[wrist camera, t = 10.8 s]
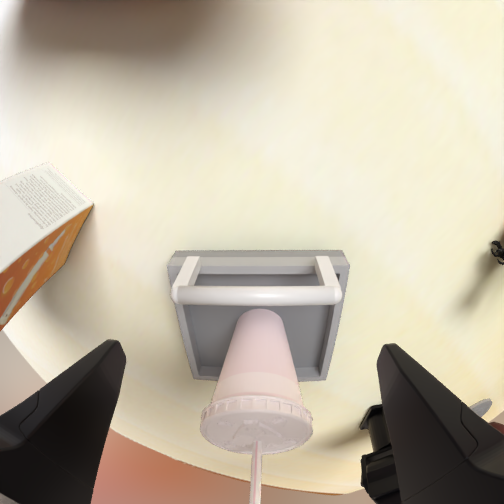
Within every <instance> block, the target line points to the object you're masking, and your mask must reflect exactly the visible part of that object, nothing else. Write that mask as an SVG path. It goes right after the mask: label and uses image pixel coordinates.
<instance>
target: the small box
mask: <svg viewBox="0 0 504 504" xmlns="http://www.w3.org/2000/svg"><path fill="white" fill-rule="evenodd" d="M93 205H94V204H93V202H92V201H91V200H90V199H89V198H88V197H87V196H86V195H84V194H83V193H82V192H81V191H80V190H79V189H78V188H77V187H76V186H75V185H74V184H73V183H72V182H70V181H69V180H68V179H67V178H66V177H65V176H64V175H63V174H62V173H61V172H60V171H59V170H58V169H57V168H56V167H55V166H54V165H53V164H52V163H51V162H47V163H44V164H41V165H38V166H36V167H33V168H30V169H28V170H25V171H23V172H20V173H18V174H15V175H13V176H11V177H8V178H6V179H4V180H1V181H0V331H1V330H2V329H3V328H4V326H5V325H6V324H7V323H8V322H9V321H10V319H11V318H12V317H13V316H14V315H15V314H16V313H17V312H18V311H19V309H20V308H21V307H22V306H23V305H24V304H25V303H26V302H27V301H28V300H29V299H30V298H31V297H32V296H33V294H34V293H35V292H36V291H37V290H38V289H39V288H40V287H41V286H42V285H43V284H44V283H45V282H46V281H47V280H48V279H50V278H51V277H52V276H53V275H54V274H55V273H56V272H57V271H58V270H59V269H60V268H61V267H62V266H63V265H64V264H65V262H66V259H67V256H68V254H69V252H70V249H71V247H72V245H73V243H74V241H75V239H76V236H77V234H78V232H79V230H80V229H81V227H82V225H83V223H84V221H85V219H86V217H87V215H88V214H89V212H90V210H91V208H92V207H93Z"/></svg>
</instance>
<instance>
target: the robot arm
mask: <svg viewBox="0 0 504 504" xmlns="http://www.w3.org/2000/svg"><path fill="white" fill-rule="evenodd" d="M125 365H126V356H125V353H124V351H123V349H122V347H121V344H120V342H119V341H117V340H111V339H108V340H106V341H105V342H103V343H102V344H101V345H99V346H98V347H97V348H95V349H94V350H92V351H91V352H90V353H88V354H87V355H86V356H84V357H83V358H81V359H80V360H79V361H77V362H76V363H75V364H73V365H72V366H71V367H69V368H68V369H67V370H65V371H64V372H62V373H61V374H60V375H58V376H57V377H56V378H54V379H53V380H52V381H50V382H49V383H48V384H46V385H45V386H44V387H42V388H41V389H40V391H37V392H36V393H34V394H33V395H31V396H30V397H29V398H27V399H26V400H25V401H23V402H22V403H20V404H18V405H17V406H15V407H14V408H12V409H11V410H9V411H7V412H6V413H4V414H2V415H1V416H0V504H91V499H92V494H93V488H94V484H95V480H96V476H97V472H98V467H99V464H100V459H101V455H102V452H103V448H104V444H105V441H106V437H107V434H108V430H109V427H110V423H111V420H112V417H113V414H114V410H115V407H116V404H117V401H118V397H119V393H120V388H121V383H122V378H123V374H124V369H125ZM377 371H378V377H379V384H380V392H381V399H382V405H377V406H373V407H371V408H370V410H369V411H368V413H367V415H366V417H365V419H364V420H363V422H362V424H361V425H360V429H361V430H363V429H369V433H370V438H371V442H372V447H373V452H372V453H370V454H367V455H366V454H365V455H362V459H361V468H362V475H361V486H362V487H364V488H365V490H366V492H367V493H368V494H369V496H370V497H371V498H372V500H373V501H374V502H375V503H376V504H504V434H503V433H501V432H500V431H499V430H497V429H496V428H494V427H493V426H492V425H490V424H489V423H488V422H486V421H485V420H484V419H482V418H481V417H480V416H478V415H477V414H476V413H475V412H474V411H473V410H471V409H470V408H469V407H468V406H467V405H466V404H465V403H463V402H462V401H461V400H460V399H459V398H458V397H457V396H456V395H454V394H453V393H452V392H451V391H450V390H449V389H448V388H446V387H445V386H444V385H443V384H442V383H441V382H440V381H438V380H437V379H436V378H435V377H434V376H433V375H432V374H430V373H429V372H428V371H427V370H426V369H425V368H424V367H422V366H421V365H420V364H419V363H418V362H417V361H415V360H414V359H413V358H412V357H411V356H410V355H408V354H407V353H406V352H405V351H404V350H403V349H401V348H400V347H399V346H398V345H397V344H395V343H391V344H385V345H383V347H382V349H381V352H380V355H379V357H378V360H377Z"/></svg>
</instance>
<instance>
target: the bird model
mask: <svg viewBox="0 0 504 504" xmlns="http://www.w3.org/2000/svg"><path fill="white" fill-rule="evenodd" d="M492 243H493V244H494V245H496V246H497V247H498V249H497V250H496V251H495V253H497V252H498V253H497V254H498V255H496V254H495V253H494V252H493V251H492V249H491V252H492V254H493V255H494V256H495V257H500V258H502V259H503V260H504V249H502V246H501V244H500V242H498V241H493V242H492ZM497 260H498V259H497ZM498 263H499V264H502V265H504V262H500V261H499V260H498Z"/></svg>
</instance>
